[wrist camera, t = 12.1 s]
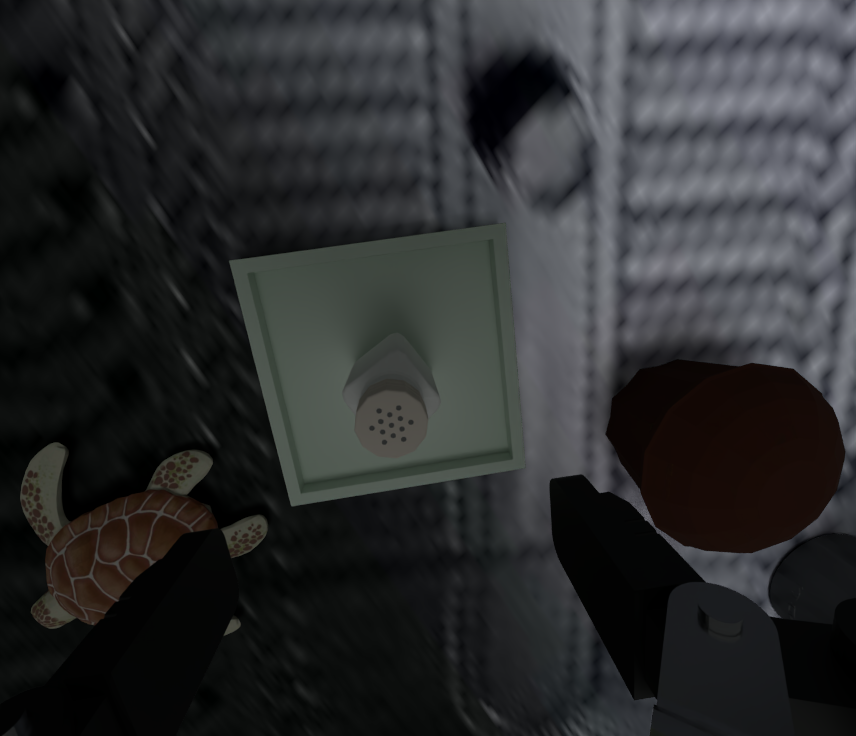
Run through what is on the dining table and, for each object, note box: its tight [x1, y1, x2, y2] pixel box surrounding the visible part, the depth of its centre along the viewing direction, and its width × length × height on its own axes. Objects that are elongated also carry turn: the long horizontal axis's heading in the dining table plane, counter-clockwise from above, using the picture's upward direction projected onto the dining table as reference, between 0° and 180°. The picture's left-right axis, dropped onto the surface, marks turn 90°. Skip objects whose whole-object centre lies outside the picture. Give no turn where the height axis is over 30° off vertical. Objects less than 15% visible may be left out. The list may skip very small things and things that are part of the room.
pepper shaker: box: [342, 333, 441, 458], centre depth 22 cm, size 4×4×10 cm
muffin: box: [606, 360, 845, 553], centre depth 25 cm, size 12×11×10 cm
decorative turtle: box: [20, 442, 268, 636], centre depth 27 cm, size 18×17×5 cm
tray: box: [229, 223, 526, 506], centre depth 26 cm, size 16×16×2 cm
